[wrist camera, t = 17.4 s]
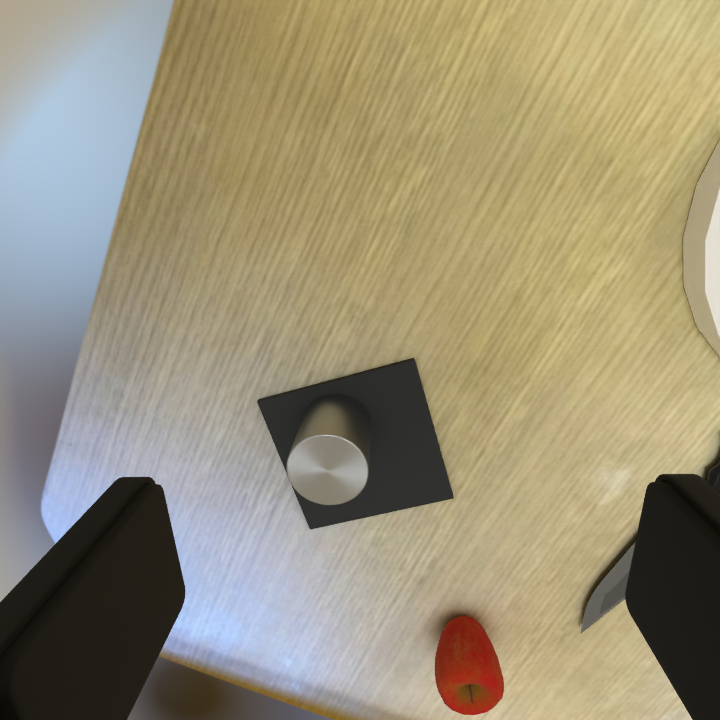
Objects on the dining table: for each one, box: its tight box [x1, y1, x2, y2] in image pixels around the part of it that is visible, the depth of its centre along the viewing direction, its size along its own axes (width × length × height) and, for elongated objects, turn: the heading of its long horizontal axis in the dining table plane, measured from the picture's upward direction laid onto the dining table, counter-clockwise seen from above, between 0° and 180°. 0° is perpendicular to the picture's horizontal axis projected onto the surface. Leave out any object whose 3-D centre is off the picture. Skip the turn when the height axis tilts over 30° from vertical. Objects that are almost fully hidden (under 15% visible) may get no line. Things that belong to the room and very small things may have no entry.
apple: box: [435, 616, 504, 715], centre depth 43 cm, size 6×6×8 cm
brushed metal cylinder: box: [287, 394, 371, 505], centre depth 36 cm, size 6×6×7 cm
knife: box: [581, 460, 720, 633], centre depth 41 cm, size 26×1×5 cm
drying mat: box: [257, 358, 453, 529], centre depth 40 cm, size 14×14×1 cm
